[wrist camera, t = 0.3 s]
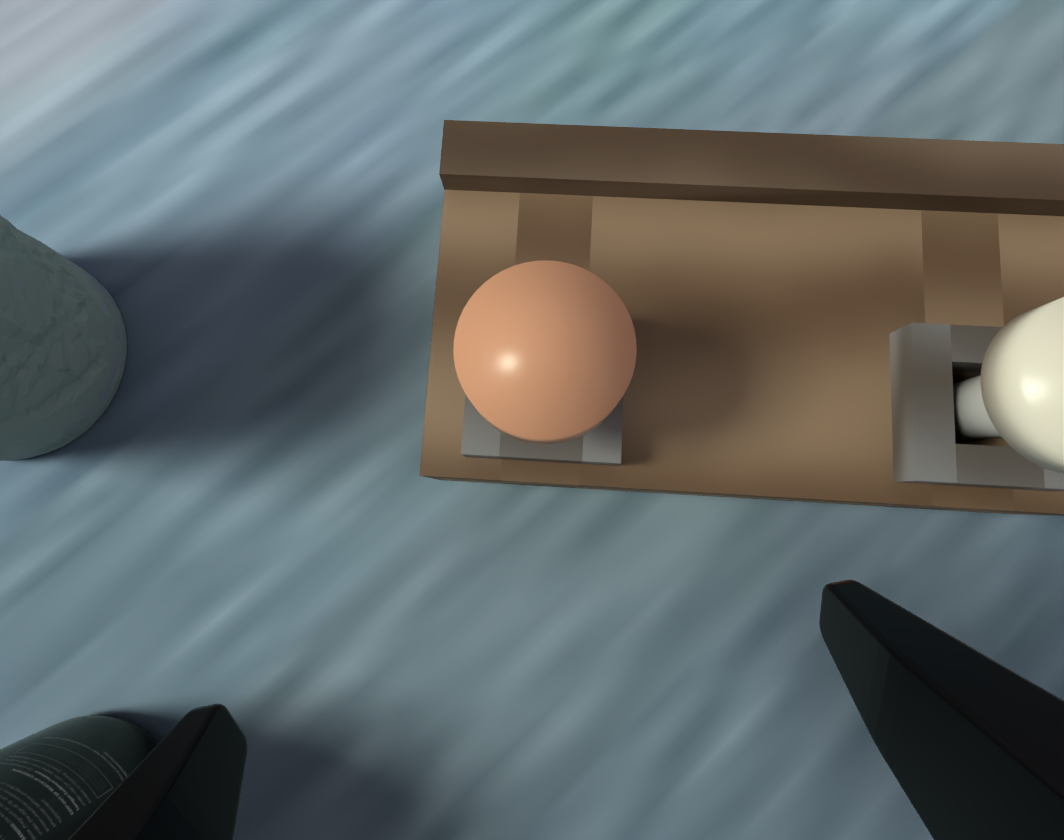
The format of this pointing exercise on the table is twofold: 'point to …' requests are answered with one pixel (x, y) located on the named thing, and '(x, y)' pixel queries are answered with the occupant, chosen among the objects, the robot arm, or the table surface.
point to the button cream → (1019, 389)
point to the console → (760, 306)
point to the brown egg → (545, 351)
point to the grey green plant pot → (52, 347)
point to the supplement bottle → (66, 775)
